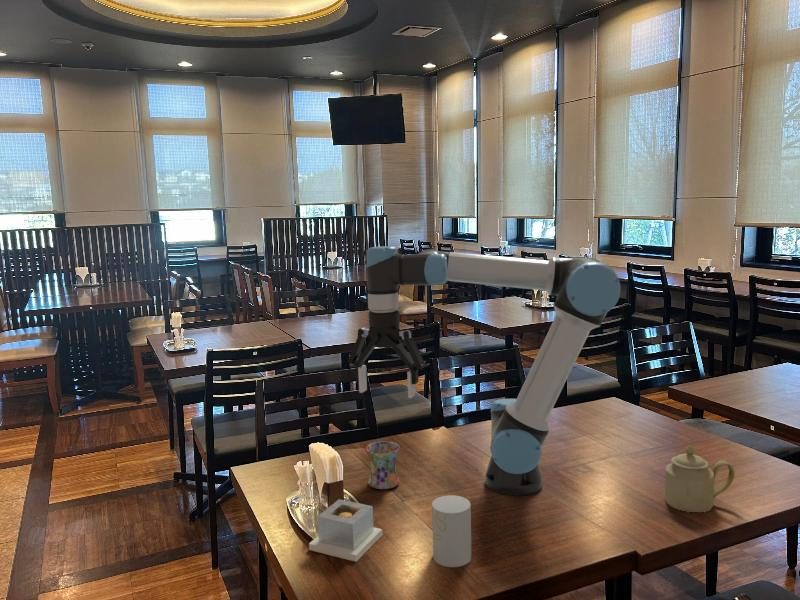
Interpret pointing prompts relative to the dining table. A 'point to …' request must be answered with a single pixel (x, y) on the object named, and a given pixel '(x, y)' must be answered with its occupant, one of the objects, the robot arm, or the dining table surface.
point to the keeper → (343, 552)
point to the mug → (383, 464)
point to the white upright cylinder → (451, 530)
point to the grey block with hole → (345, 524)
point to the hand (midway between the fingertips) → (387, 394)
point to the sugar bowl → (693, 482)
